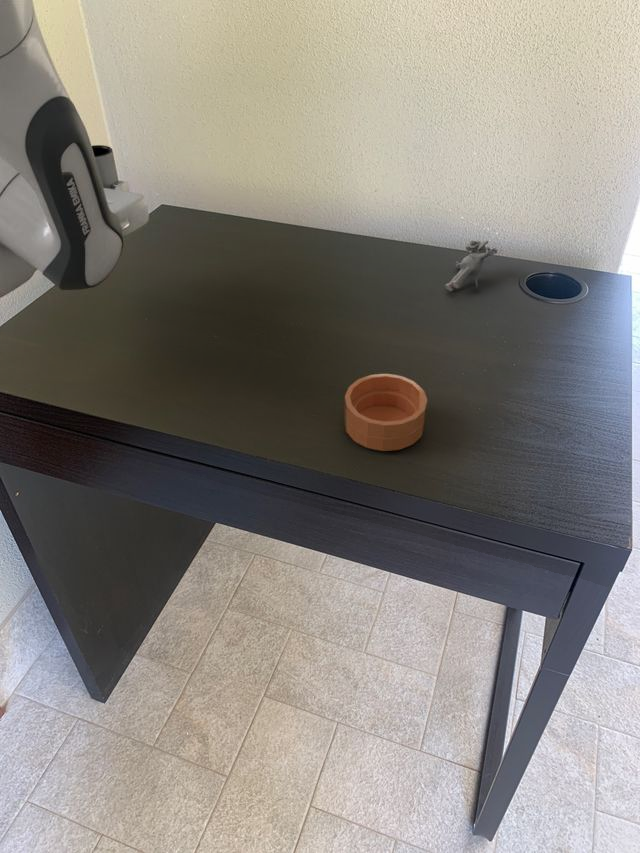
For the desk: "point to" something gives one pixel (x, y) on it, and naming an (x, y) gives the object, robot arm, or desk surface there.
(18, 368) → the desk surface
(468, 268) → the grey figurine
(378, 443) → the bowl
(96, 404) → the desk surface
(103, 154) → the tall grey cup
